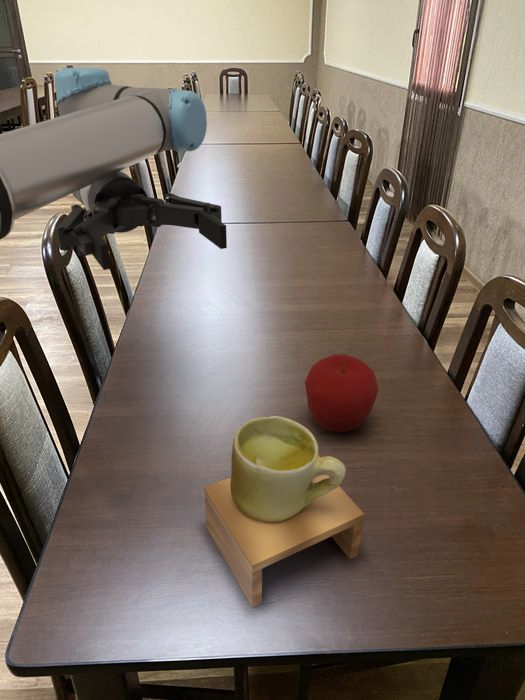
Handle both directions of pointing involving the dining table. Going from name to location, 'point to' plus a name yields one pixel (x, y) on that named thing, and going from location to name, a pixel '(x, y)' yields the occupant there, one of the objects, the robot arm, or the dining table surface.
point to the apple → (340, 392)
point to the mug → (279, 469)
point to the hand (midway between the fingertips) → (167, 247)
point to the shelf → (277, 532)
